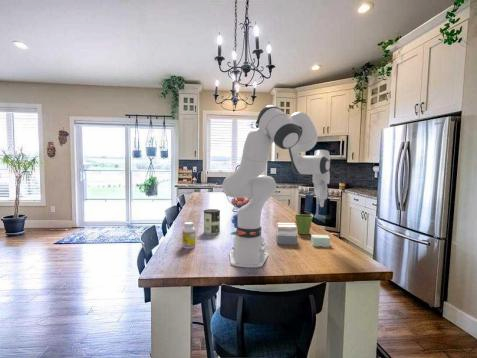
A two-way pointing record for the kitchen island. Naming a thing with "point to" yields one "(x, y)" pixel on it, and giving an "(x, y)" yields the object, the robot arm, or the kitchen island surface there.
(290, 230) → the cream top block
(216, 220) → the coffee can
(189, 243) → the supplement bottle
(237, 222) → the grapes
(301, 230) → the plant pot
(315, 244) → the sage brick
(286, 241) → the grey base block
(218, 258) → the kitchen island surface
